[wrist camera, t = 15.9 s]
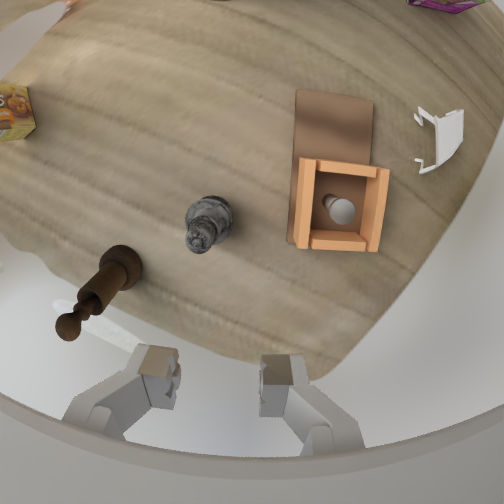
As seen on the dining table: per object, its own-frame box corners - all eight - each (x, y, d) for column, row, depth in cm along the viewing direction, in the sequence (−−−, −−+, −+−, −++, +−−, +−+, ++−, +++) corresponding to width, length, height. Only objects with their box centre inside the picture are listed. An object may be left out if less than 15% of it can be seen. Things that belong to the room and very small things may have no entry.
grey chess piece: (235, 194, 37) (227, 217, 26) (233, 237, 39) (225, 276, 28) (191, 192, 37) (164, 214, 25) (191, 235, 39) (167, 272, 28)
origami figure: (412, 89, 31) (430, 85, 26) (453, 112, 31) (473, 112, 27) (396, 165, 35) (414, 169, 30) (438, 183, 36) (457, 189, 31)
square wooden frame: (299, 157, 33) (305, 158, 30) (376, 166, 34) (389, 169, 30) (293, 237, 37) (297, 248, 33) (366, 241, 37) (377, 252, 34)
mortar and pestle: (141, 288, 42) (90, 366, 25) (105, 278, 41) (45, 347, 25) (143, 249, 40) (83, 319, 23) (105, 240, 39) (34, 299, 22)
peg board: (295, 90, 32) (306, 78, 25) (368, 102, 32) (393, 95, 25) (286, 239, 39) (293, 261, 32) (354, 243, 39) (374, 264, 32)
